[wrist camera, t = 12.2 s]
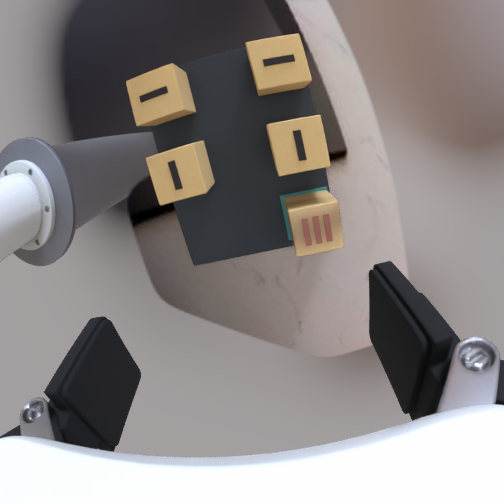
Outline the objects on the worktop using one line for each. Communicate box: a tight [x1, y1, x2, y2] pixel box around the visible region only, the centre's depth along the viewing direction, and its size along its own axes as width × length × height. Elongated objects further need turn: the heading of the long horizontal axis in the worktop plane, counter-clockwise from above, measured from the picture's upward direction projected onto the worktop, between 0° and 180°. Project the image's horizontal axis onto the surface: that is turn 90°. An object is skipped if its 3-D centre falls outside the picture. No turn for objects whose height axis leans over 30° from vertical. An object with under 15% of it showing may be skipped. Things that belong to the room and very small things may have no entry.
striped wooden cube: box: [284, 190, 344, 257], centre depth 26 cm, size 4×4×5 cm
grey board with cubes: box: [126, 34, 330, 266], centre depth 24 cm, size 20×15×5 cm
